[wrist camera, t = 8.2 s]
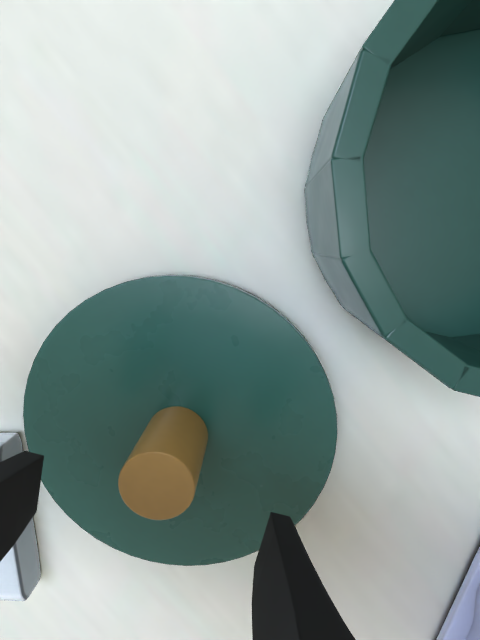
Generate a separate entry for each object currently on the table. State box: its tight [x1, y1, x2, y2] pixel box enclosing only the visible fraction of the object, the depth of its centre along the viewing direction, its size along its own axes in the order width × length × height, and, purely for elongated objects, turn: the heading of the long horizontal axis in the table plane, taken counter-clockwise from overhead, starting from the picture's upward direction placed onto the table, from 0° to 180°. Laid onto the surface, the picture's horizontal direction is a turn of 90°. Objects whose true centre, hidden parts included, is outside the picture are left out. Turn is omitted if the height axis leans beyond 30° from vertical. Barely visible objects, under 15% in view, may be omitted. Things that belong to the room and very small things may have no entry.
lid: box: [23, 275, 337, 566], centre depth 14 cm, size 13×13×4 cm
